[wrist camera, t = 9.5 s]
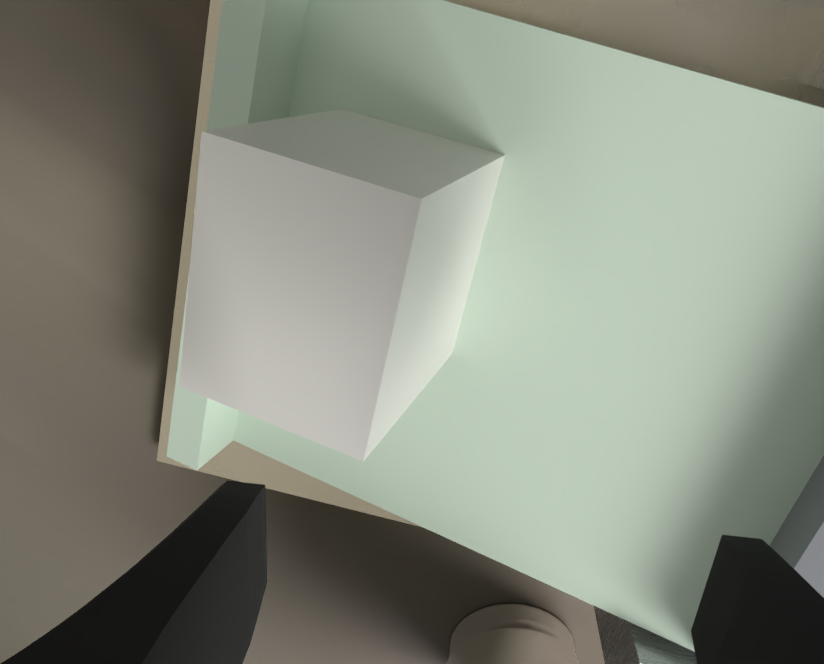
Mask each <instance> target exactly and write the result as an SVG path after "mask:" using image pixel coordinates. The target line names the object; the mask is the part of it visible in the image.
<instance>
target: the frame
mask: <svg viewBox="0 0 824 664" xmlns="http://www.w3.org/2000/svg"><path fill="white" fill-rule="evenodd" d="M222 1H223V0H210V7H209V16H208V24H207V33H206V42H205V50H204V59H203V67H202V76H201V85H200V93H199V102H198V110H197V119H196V128H195V136H194V145H193V153H192V162H191V171H190V179H189V188H188V196H187V205H186V214H185V222H184V231H183V239H182V248H181V257H180V265H179V274H178V282H177V291H176V299H175V308H174V317H173V325H172V334H171V342H170V351H169V360H168V368H167V377H166V385H165V394H164V403H163V411H162V420H161V428H160V437H159V446H158V454H157V461H160V462H164V463H168V464H172V465H176V466H180V467H184V468H188V469H192V468H190V467H188V466H186V465H184V464H182V463H179V462H177V461H175V460H173V459H171V458H169V457H167V448H168V440H169V431H170V423H171V415H172V407H173V399H174V391H175V383H176V375H177V366H178V358H179V350H180V342H181V334H182V326H183V318H184V310H185V301H186V293H187V285H188V277H189V269H190V260H191V248H192V237H193V225H194V214H195V202H196V191H197V179H198V168H199V156H200V145H201V133H202V131H206V130H207V123H208V115H209V106H210V98H211V90H212V82H213V74H214V66H215V58H216V50H217V41H218V33H219V25H220V17H221V9H222ZM447 1H450V2H454V3H457V4H461V5H464V6H468V7H471V8H475V9H478V10H482V11H485V12H489V13H493V14H496V15H500V16H503V17H507V18H510V19H514V20H517V21H521V22H524V23H528V24H531V25H535V26H538V27H542V28H545V29H549V30H553V31H556V32H560V33H563V34H567V35H570V36H574V37H577V38H581V39H584V40H588V41H591V42H595V43H598V44H602V45H606V46H609V47H613V48H616V49H620V50H623V51H627V52H630V53H634V54H637V55H641V56H644V57H648V58H651V59H655V60H659V61H662V62H666V63H669V64H673V65H676V66H680V67H683V68H687V69H690V70H694V71H697V72H701V73H704V74H708V75H711V76H715V77H719V78H722V79H726V80H729V81H733V82H736V83H740V84H743V85H747V86H750V87H754V88H757V89H761V90H764V91H768V92H772V93H775V94H779V95H782V96H786V97H789V98H793V99H796V100H800V101H803V102H807V103H810V104H814V105H817V106H821V107H824V0H447ZM192 470H194V469H192ZM197 471H200V472H204V473H208V474H212V475H216V476H220V477H224V478H227V479H231V480H235V481H239V482H244V483H254V484H263V485H265V488H267V489H271V490H275V491H279V492H283V493H287V494H291V495H295V496H299V497H303V498H307V499H311V500H315V501H319V502H323V503H327V504H331V505H335V506H339V507H343V508H347V509H351V510H355V511H359V512H363V513H367V514H371V515H375V516H379V517H383V518H387V519H391V520H395V521H399V522H403V523H407V524H411V525H415V526H419V525H417V524H415V523H413V522H410V521H408V520H406V519H404V518H402V517H400V516H397V515H395V514H393V513H391V512H389V511H386V510H384V509H382V508H380V507H378V506H376V505H373V504H371V503H369V502H367V501H365V500H362V499H360V498H358V497H356V496H354V495H352V494H349V493H347V492H345V491H343V490H341V489H338V488H336V487H334V486H332V485H330V484H328V483H325V482H323V481H321V480H319V479H317V478H314V477H312V476H310V475H308V474H306V473H304V472H301V471H299V470H297V469H295V468H293V467H290V466H288V465H286V464H284V463H282V462H280V461H277V460H275V459H273V458H271V457H269V456H266V455H264V454H262V453H260V452H258V451H256V450H253V449H251V448H249V447H247V446H245V445H242V444H240V443H238V442H236V441H234V440H233V441H232V442H231V443H230V444H228V445H227V446H226V447H225V448H224V449H222V450H221V451H220V452H219V453H218V454H216V455H215V456H214V457H213V458H211V459H210V460H209V461H208V462H207V463H205V464H204V465H203V466H202V467H201V468H199V469H198V470H197ZM419 527H421V526H419ZM423 528H424V527H423ZM594 609H595V614H596V620H597V625H598V630H599V635H600V640H601V646H602V651H603V656H604V661H605V664H697V660H696V655H695V652H694V651H692V650H690V649H687V648H685V647H683V646H681V645H679V644H677V643H674V642H672V641H670V640H668V639H666V638H663V637H661V636H659V635H657V634H655V633H653V632H650V631H648V630H646V629H644V628H642V627H639V626H637V625H635V624H633V623H631V622H629V621H626V620H624V619H622V618H620V617H618V616H615V615H613V614H611V613H609V612H607V611H605V610H602V609H600V608H598V607H596V606H594Z"/></svg>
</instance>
